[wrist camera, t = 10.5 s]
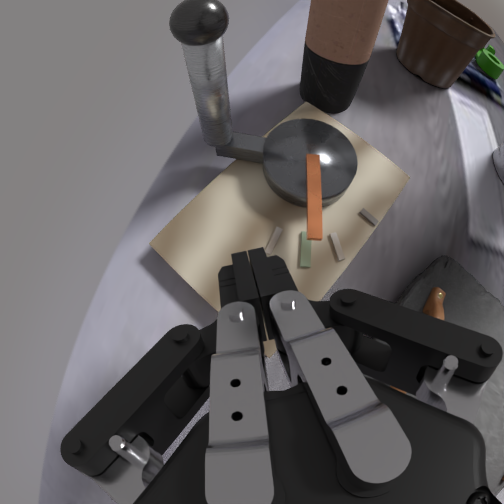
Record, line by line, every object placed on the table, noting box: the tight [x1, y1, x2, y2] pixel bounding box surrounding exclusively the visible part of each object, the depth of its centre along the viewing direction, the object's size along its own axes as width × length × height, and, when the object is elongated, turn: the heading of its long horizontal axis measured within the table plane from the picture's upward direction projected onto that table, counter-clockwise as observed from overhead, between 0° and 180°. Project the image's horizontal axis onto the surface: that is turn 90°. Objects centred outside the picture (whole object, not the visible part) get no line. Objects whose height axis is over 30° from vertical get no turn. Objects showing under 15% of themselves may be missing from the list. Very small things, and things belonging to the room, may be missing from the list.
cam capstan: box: [169, 0, 358, 241], centre depth 19 cm, size 13×15×17 cm
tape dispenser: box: [475, 45, 504, 79], centre depth 39 cm, size 15×7×5 cm, turn 155°
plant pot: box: [396, 0, 495, 88], centre depth 29 cm, size 16×16×16 cm
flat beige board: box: [149, 102, 410, 358], centre depth 27 cm, size 15×24×2 cm, turn 138°
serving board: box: [362, 256, 504, 496], centre depth 20 cm, size 39×23×6 cm, turn 54°
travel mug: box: [300, 0, 388, 113], centre depth 24 cm, size 8×8×20 cm
